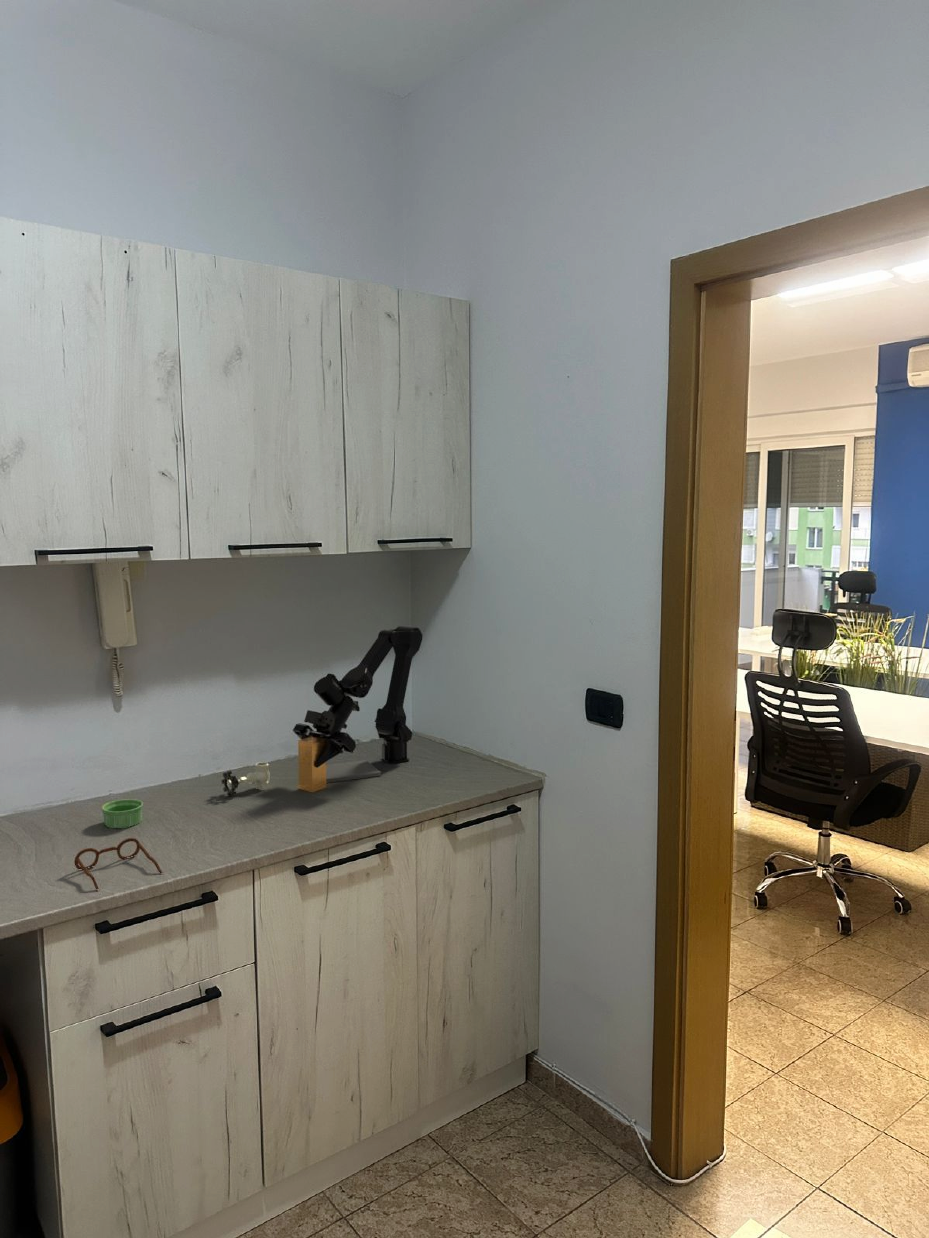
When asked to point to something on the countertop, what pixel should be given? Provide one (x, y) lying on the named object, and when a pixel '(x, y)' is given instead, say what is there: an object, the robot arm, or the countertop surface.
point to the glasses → (139, 846)
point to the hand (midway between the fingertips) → (308, 764)
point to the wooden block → (311, 764)
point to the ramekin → (122, 813)
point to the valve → (248, 779)
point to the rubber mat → (350, 771)
